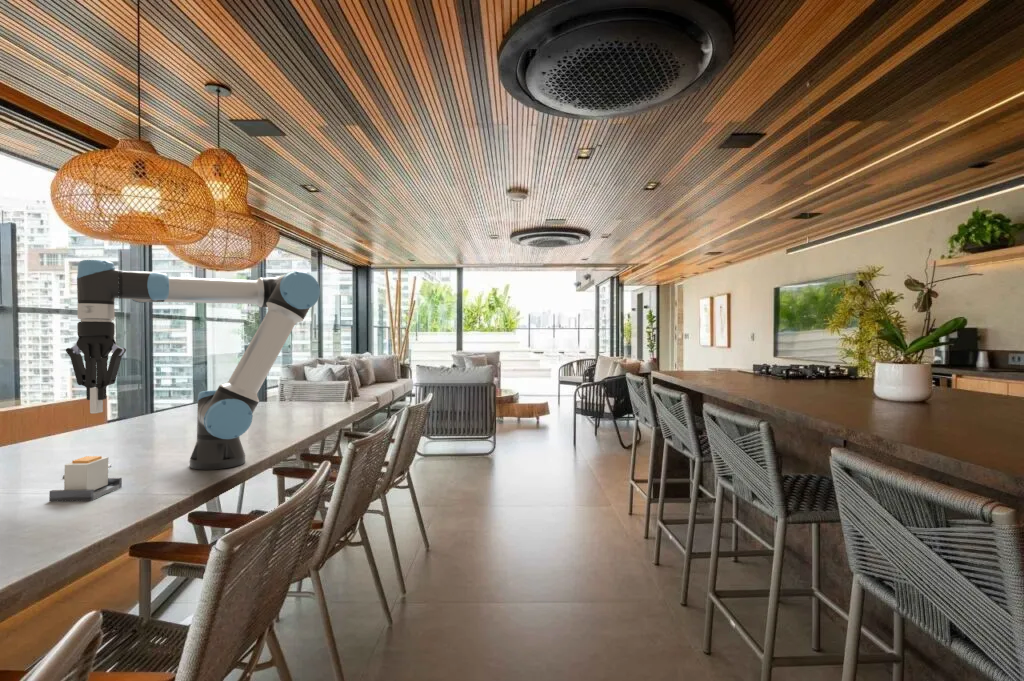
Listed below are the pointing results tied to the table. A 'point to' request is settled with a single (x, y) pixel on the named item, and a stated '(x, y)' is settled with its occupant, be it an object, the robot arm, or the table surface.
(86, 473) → the block
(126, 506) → the table surface
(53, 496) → the dark grey tray
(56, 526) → the table surface
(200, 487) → the table surface
